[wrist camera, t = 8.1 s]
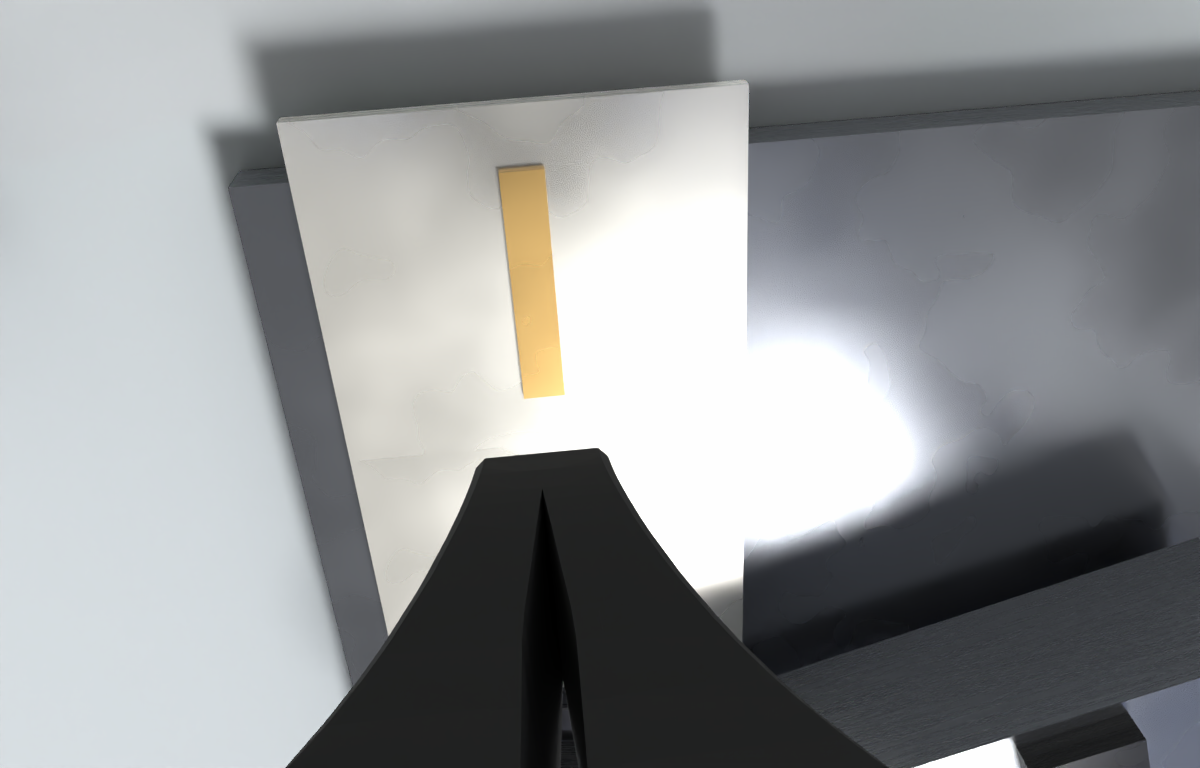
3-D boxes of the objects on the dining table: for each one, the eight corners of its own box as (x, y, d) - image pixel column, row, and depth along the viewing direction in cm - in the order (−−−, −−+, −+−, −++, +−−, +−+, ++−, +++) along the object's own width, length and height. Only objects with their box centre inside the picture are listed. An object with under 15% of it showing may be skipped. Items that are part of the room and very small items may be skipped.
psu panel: (1213, 737, 26) (1243, 777, 24) (399, 827, 25) (394, 873, 24) (1462, 8, 17) (1525, 22, 16) (224, 108, 16) (205, 131, 15)
